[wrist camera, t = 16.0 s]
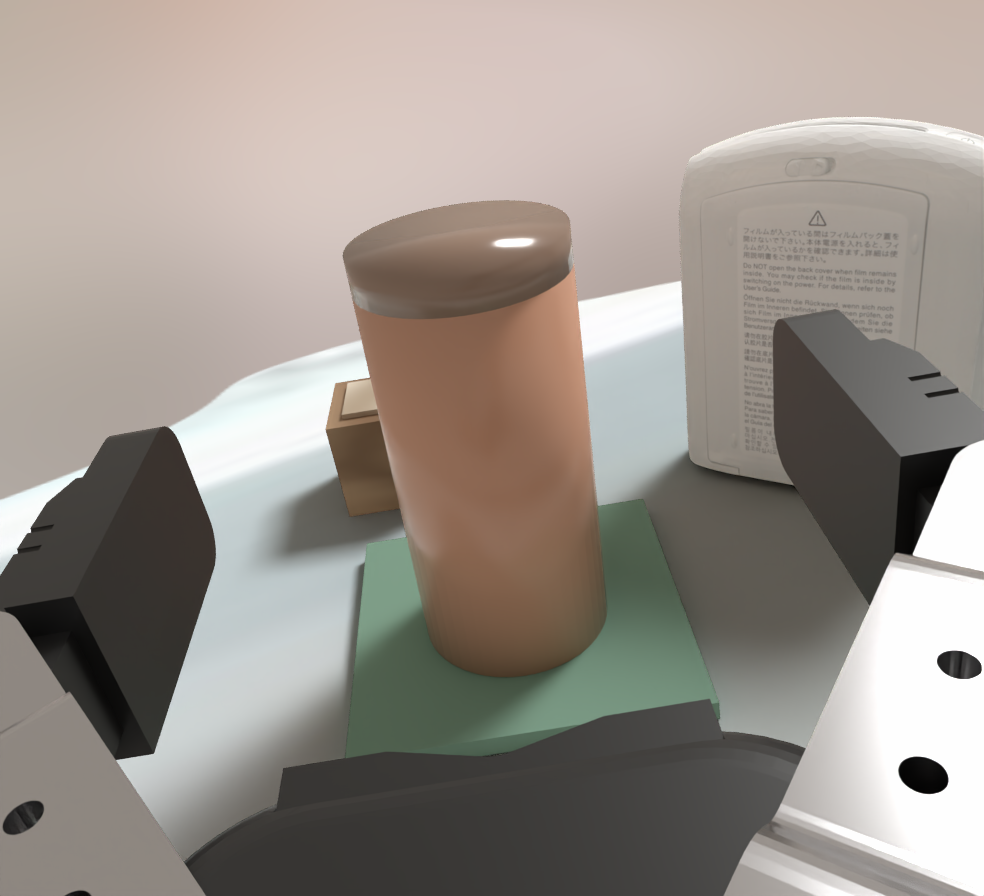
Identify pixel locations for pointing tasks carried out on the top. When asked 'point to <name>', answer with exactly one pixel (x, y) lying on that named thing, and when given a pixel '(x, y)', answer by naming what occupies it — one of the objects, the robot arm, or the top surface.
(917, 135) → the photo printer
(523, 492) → the canister
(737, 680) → the top surface
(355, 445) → the letter block
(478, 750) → the green mat
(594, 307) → the top surface
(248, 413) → the top surface
